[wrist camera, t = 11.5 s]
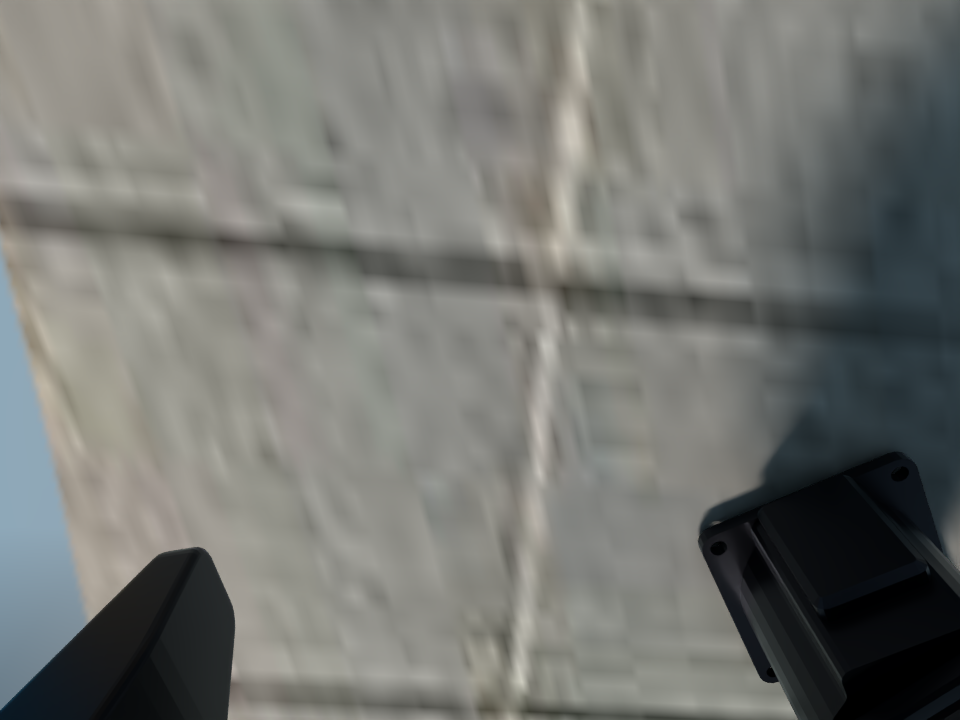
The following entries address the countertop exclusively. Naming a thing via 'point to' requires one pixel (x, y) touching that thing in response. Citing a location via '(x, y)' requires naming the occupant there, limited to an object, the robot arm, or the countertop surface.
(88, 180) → the countertop surface
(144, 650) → the robot arm
